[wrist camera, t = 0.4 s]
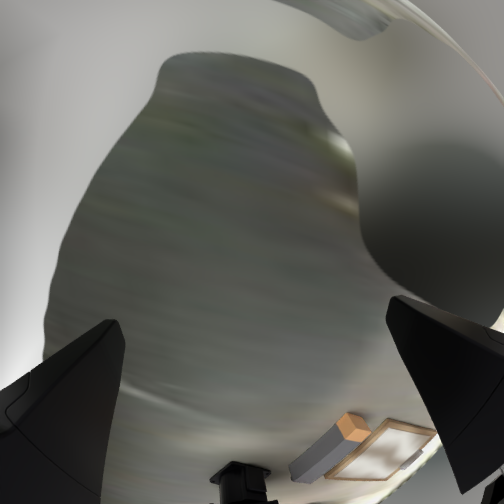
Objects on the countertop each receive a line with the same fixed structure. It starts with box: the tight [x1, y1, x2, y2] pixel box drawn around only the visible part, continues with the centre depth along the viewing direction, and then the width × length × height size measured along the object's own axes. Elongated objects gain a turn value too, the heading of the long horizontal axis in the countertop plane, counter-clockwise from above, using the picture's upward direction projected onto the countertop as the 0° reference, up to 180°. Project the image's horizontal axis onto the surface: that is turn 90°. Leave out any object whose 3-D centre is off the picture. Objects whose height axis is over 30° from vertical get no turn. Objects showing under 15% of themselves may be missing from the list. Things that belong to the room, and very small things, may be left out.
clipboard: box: [324, 418, 438, 481], centre depth 30 cm, size 14×18×2 cm
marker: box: [289, 413, 371, 484], centre depth 27 cm, size 13×3×3 cm, turn 146°
